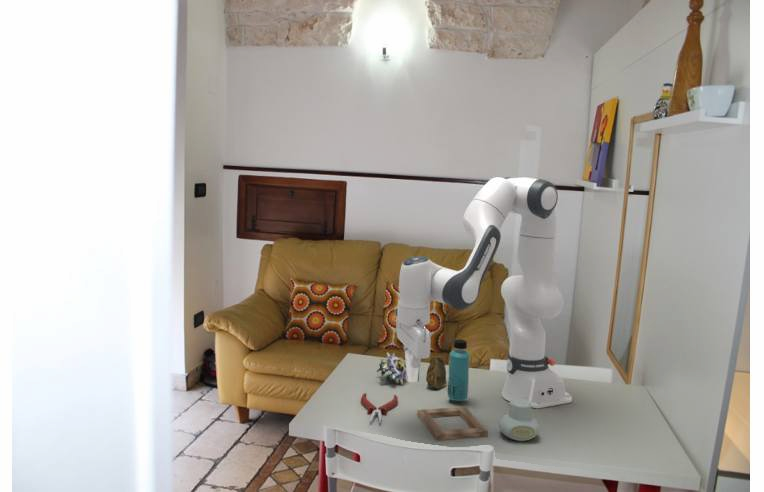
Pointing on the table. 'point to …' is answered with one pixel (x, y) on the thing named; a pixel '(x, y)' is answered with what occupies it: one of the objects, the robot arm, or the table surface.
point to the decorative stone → (436, 373)
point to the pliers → (381, 410)
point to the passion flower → (394, 368)
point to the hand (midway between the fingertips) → (411, 364)
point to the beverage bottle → (458, 372)
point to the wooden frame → (440, 434)
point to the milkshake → (411, 368)
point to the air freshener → (519, 421)
